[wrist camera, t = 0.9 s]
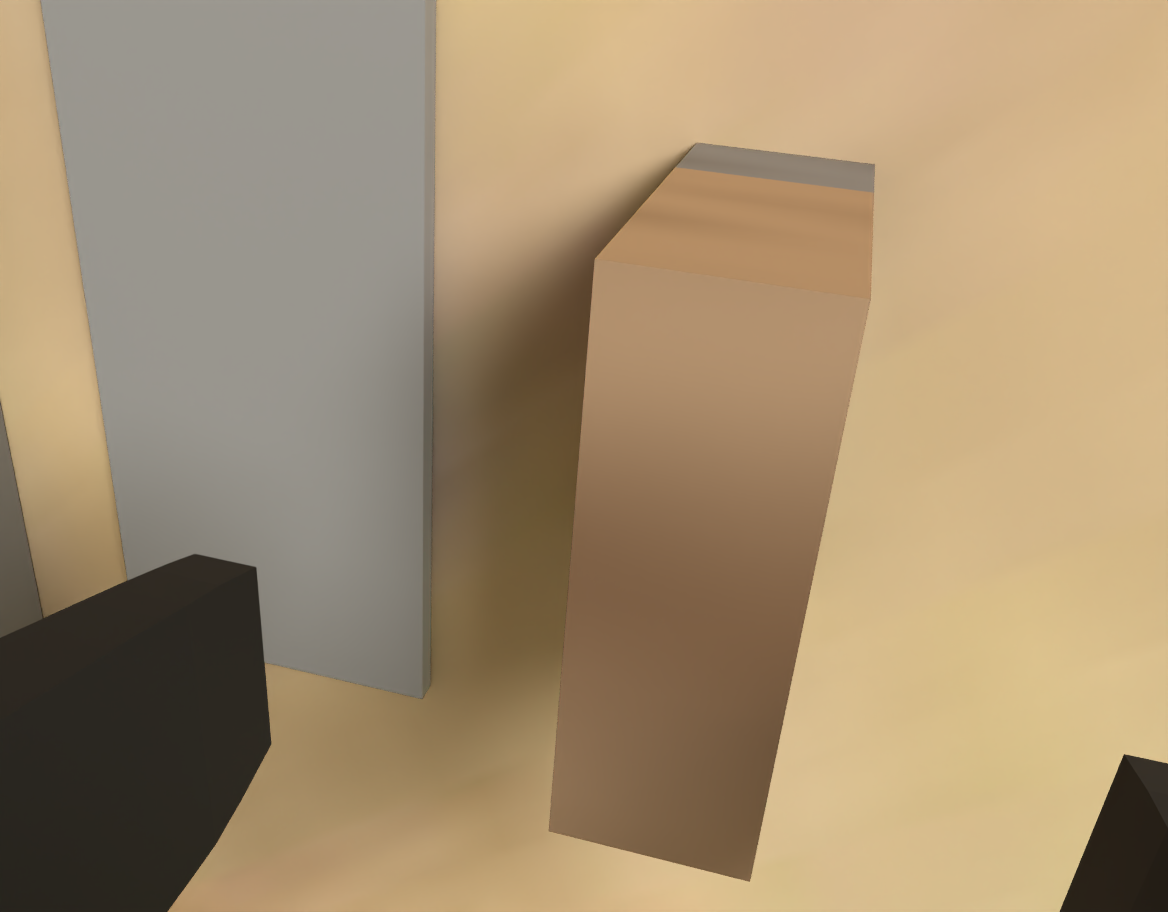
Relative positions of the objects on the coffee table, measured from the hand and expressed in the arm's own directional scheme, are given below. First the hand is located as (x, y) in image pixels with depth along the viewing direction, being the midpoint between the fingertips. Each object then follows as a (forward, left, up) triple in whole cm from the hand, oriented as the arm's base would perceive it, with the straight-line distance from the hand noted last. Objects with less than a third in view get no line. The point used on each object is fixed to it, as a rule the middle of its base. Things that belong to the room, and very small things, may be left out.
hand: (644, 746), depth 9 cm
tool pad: (-1, +8, -8) cm, 11 cm away
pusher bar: (0, 0, -8) cm, 8 cm away
